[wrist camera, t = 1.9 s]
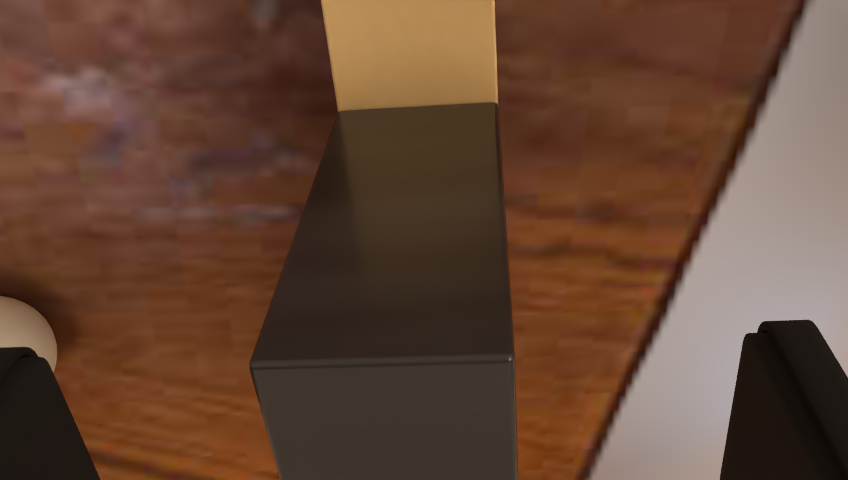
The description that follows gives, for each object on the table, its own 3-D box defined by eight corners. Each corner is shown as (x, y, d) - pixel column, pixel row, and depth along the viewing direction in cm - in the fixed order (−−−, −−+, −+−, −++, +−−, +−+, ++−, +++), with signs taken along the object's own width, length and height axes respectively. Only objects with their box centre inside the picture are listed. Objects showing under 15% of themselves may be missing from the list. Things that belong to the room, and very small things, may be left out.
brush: (325, -179, 15) (129, -52, 6) (485, -194, 14) (503, -82, 6) (393, 320, 21) (340, 706, 13) (504, 316, 21) (524, 709, 13)
